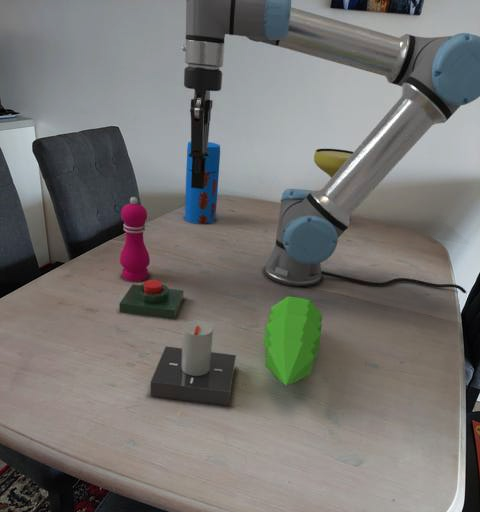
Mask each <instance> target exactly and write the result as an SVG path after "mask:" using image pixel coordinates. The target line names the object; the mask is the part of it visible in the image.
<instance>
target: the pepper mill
mask: <svg viewBox="0 0 480 512" xmlns="http://www.w3.org/2000/svg"><path fill="white" fill-rule="evenodd" d="M138 202H139V200H138V198H137V197H135V196H132V197H130V199H129V203H127V204H126V205H124V206H122V208H121V211H120V217H121V220H122V221H123V231H124V232H125V240H124V241H125V242H124V245H123V248H122V250H121V252H120V255H119V264H120V265H121V267H123V268H122V269H121V276H122V279H124V280H126V281H129V282H141V281H146V279H147V278H148V277H149V271H148V268H147V267H148V266H149V265H150V263H151V261H150V260H151V259H150V253H149V252H148V249H147V247H146V244H145V242H144V241H145V240H144V232H145V231H146V228H145V227H146V224H145V222H146V221H147V219H148V212H147V209H146V208H145V206H143V205H142V204H140V203H138Z"/></svg>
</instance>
